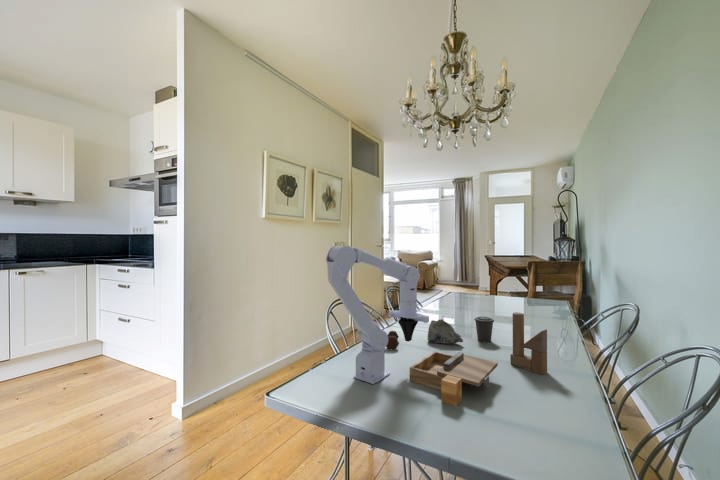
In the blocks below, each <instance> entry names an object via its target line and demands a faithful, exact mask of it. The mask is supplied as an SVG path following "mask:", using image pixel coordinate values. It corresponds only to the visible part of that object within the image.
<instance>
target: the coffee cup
mask: <svg viewBox="0 0 720 480" xmlns="http://www.w3.org/2000/svg"><path fill="white" fill-rule="evenodd" d="M474 321H475V329H476V337H477V341H478V342H480V343H491V342H492V336H493V335H492V334H493V329H494V327H493V325H494V322H495V320H494V319H493V318H491V317H488V316H478V317H475V318H474Z"/></svg>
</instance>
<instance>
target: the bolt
mask: <svg viewBox="0 0 720 480" xmlns="http://www.w3.org/2000/svg"><path fill="white" fill-rule="evenodd" d="M387 335H388V344H387V346H386V347H385V348H386V349H387V350H390V349H396V350H397V348H398V347H399V345H400V342H399V337H400V335H399V334H398V332H397V331H395V330H390V331H389V332H388V333H387Z"/></svg>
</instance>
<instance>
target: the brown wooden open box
mask: <svg viewBox="0 0 720 480" xmlns="http://www.w3.org/2000/svg"><path fill="white" fill-rule="evenodd" d="M453 356H454V355H453V354H447V353H443V352H440V351H433V352H431V353H430V354H428V355H427V356H426V357H424V358H422V359H421V360H418V361H417V362H416V363H414V364H413V365H411V366H409V381H410V382H412V383H413V382H414V383H416V384H420V385H423V386H426V387H430V388H433V389H435V390H439V391H441V380H442V379H443V378H444V377H443V376H440V375H437V371H438V370H439V369H441V368H442V367H443V366H444V362H446V361H447V360H449V359H450V358H451V357H453Z"/></svg>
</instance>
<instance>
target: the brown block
mask: <svg viewBox="0 0 720 480" xmlns="http://www.w3.org/2000/svg"><path fill="white" fill-rule="evenodd" d="M462 383H463V382H461V378H457V377H454V376H450V375H447V376H445V377H444V378H443V379H442V380H441V390H440V391H441V395H440V396H441V397H440V398H441V400H440V401H441V403H443V404H446V405H449V406H453V407H458V405H459V404H460V403H461V402H462V401H463V400H462V398H463V397H462V396H463V395H462V393H463V392H462V387H463V386H462Z"/></svg>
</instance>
